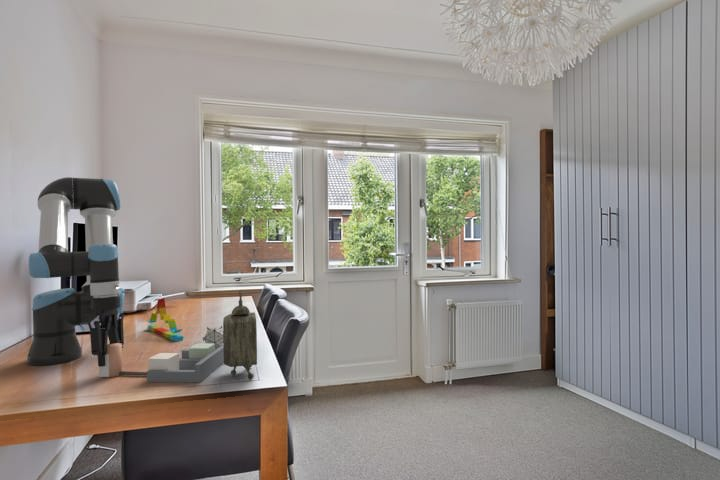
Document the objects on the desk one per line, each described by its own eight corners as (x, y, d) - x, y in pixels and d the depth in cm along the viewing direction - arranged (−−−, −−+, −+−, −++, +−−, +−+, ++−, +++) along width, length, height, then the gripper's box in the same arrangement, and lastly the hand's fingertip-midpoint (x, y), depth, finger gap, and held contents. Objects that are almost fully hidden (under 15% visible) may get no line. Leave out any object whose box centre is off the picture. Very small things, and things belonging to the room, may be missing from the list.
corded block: (99, 378, 124) (99, 347, 124) (113, 371, 130) (113, 342, 130) (168, 379, 122) (167, 348, 122) (179, 373, 128) (178, 343, 128)
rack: (147, 381, 121) (146, 364, 121) (183, 358, 143) (183, 343, 143) (200, 382, 120) (200, 364, 120) (229, 358, 142) (228, 343, 142)
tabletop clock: (257, 380, 121) (256, 293, 120) (223, 384, 118) (222, 294, 118) (254, 365, 134) (253, 286, 134) (225, 368, 132) (223, 288, 131)
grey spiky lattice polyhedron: (217, 360, 153) (217, 342, 147) (197, 350, 155) (196, 332, 149) (232, 342, 160) (232, 325, 154) (212, 334, 162) (212, 316, 156)
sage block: (189, 367, 134) (188, 348, 134) (197, 361, 140) (197, 343, 140) (207, 367, 134) (207, 348, 133) (215, 361, 140) (214, 343, 139)
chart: (183, 340, 168) (183, 302, 168) (175, 342, 166) (175, 304, 165) (155, 328, 189) (154, 295, 189) (147, 330, 187) (147, 296, 187)
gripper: (98, 299, 118) (103, 383, 118) (134, 291, 135) (138, 364, 136) (72, 300, 118) (77, 384, 119) (111, 292, 136) (115, 365, 136)
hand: (109, 373), depth 127 cm, fingers closed on corded block, 4 cm apart
